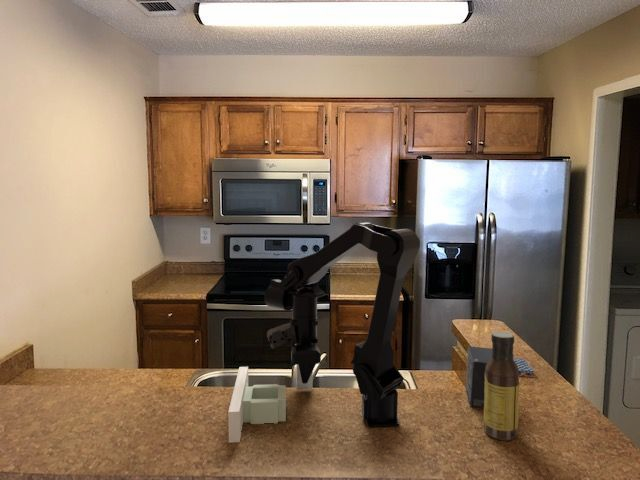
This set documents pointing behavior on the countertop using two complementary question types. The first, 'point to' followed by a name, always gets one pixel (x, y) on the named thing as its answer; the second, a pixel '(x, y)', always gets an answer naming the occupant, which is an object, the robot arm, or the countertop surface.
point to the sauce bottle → (501, 389)
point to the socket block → (264, 404)
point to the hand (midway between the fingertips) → (304, 379)
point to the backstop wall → (237, 406)
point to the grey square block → (299, 381)
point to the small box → (476, 374)
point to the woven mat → (524, 368)
